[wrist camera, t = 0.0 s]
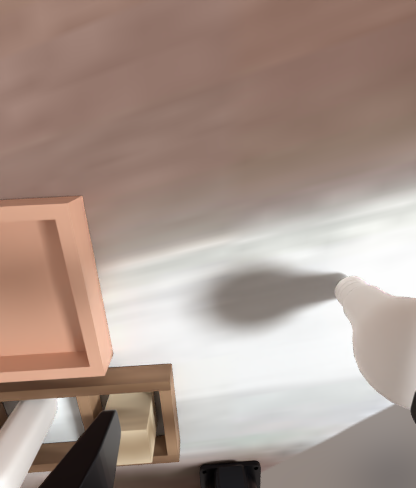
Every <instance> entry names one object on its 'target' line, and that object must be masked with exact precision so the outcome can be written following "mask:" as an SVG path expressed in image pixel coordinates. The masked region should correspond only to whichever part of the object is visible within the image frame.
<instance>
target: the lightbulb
mask: <svg viewBox="0 0 416 488" xmlns="http://www.w3.org/2000/svg"><path fill="white" fill-rule="evenodd" d="M335 296H336V298H337V300H338V301H339V303H340V304H341V306H342V307H343V310H344V313H345V315H346V317H347V318H348V319H349V321H350V323H351V325H352V329H353V337H352V339H353V351H354V357H355V360H356V362H357V365H358V367H359V370H360V372H361V373H362V375H363V376H364V378H365V379H366V380H367V382H368V383H369V384H370V385H371V386H372V387H373V388H374V389H375V390H376V391H377V392H378V393H379V394H381V395H382V396H383V397H385V398H386V399H388V400H389V401H391V402H392V403H395V404H397V405H399V406H402V407H404V408H406V409H410V408H411V404H412V400H413V396H414V393H415V391H416V298H410V297H396V296H392V295H390V294H388V293H386V292H384V291H383V290H381V289H380V288H378V287H376V286H373V285H370V284H368V283H367V282H366V281H364V280H363V279H361V278H360V277H357V276H349V277H346V278H343V279H342V280H341V281H340V282H339V283H338V284H337V286H336V288H335Z"/></svg>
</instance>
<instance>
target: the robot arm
mask: <svg viewBox="0 0 416 488" xmlns="http://www.w3.org/2000/svg"><path fill="white" fill-rule="evenodd" d="M410 411H411V415H412V418H413V420H414V422H415V423H416V391H415V393H414V396H413V400H412V404H411V408H410ZM120 439H121V427H120V422H119V417H118V413H117V410H115V409H111V410H103V411H101V412H100V413H99V415H98V416H97V417H96V418H95V420H94V421H93V422H92V423H91V424H90V426H89V427H88V428H87V429H86V430H85V432H84V433H83V434H82V435H81V437H80V438H79V439H78V440H77V441H76V443H75V444H74V445H73V446H72V447H71V449H70V450H69V451H68V452H67V454H66V455H65V456H64V457H63V458H62V460H61V461H60V462H59V463H58V465H57V466H56V467H55V468H54V469H53V471H52V472H51V473H50V474H49V475H48V477H47V478H46V479H45V480H44V482H43V483H42V484H41V485H40V486H39V488H113V485H114V478H115V472H116V465H117V459H118V452H119V446H120ZM260 474H261V467H260V463H259V462H257V461H252V462H239V463H225V464H211V465H202V466H201V467H200V483H201V488H260Z"/></svg>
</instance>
